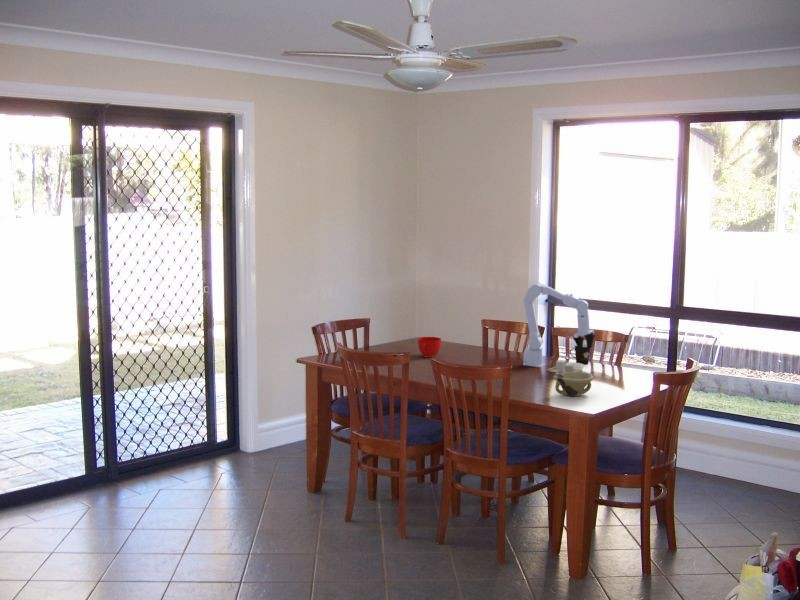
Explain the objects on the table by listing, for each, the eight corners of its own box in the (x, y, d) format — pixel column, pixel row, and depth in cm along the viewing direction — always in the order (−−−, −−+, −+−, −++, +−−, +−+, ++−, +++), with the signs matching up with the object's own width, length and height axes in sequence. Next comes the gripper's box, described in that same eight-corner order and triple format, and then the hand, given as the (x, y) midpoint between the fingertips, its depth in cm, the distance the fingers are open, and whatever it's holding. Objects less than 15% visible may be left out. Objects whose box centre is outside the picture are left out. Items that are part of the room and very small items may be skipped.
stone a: (555, 370, 417) (556, 361, 416) (559, 368, 420) (560, 359, 420) (562, 371, 415) (562, 362, 414) (566, 369, 418) (566, 360, 417)
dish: (562, 368, 422) (562, 364, 422) (570, 365, 429) (570, 361, 429) (578, 371, 417) (578, 367, 416) (586, 368, 424) (586, 364, 424)
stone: (564, 373, 409) (565, 365, 409) (566, 372, 413) (566, 364, 412) (572, 374, 408) (573, 366, 407) (574, 372, 411) (574, 365, 410)
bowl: (586, 389, 379) (587, 370, 378) (596, 400, 361) (597, 379, 360) (549, 390, 378) (549, 370, 377) (558, 400, 361) (558, 379, 359)
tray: (547, 372, 415) (547, 369, 414) (557, 368, 423) (557, 365, 423) (572, 376, 406) (572, 373, 406) (582, 372, 415) (582, 369, 414)
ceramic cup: (411, 359, 444) (412, 341, 443) (422, 353, 460) (422, 336, 458) (433, 361, 439) (434, 343, 438) (444, 355, 455) (444, 337, 454)
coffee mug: (589, 362, 439) (589, 344, 438) (591, 365, 431) (592, 347, 429) (567, 361, 440) (568, 343, 439) (569, 364, 432) (570, 346, 430)
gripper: (581, 326, 411) (582, 352, 413) (598, 321, 421) (599, 347, 422) (569, 325, 417) (571, 351, 418) (587, 321, 426) (588, 346, 428)
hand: (584, 349), depth 421 cm, fingers open, 7 cm apart
